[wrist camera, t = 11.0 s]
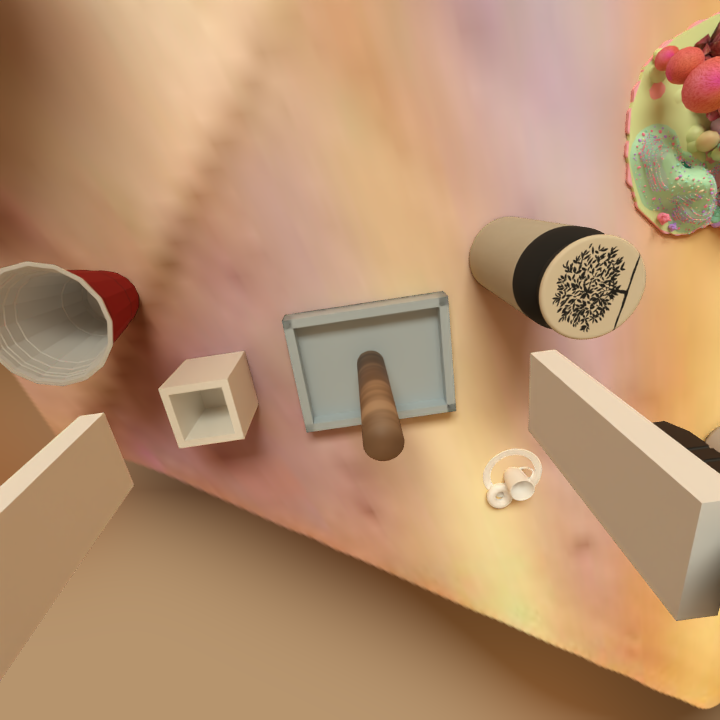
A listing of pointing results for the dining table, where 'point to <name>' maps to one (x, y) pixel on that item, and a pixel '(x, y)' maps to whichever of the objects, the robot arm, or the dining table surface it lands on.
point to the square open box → (210, 399)
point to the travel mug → (560, 274)
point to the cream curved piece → (512, 480)
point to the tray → (372, 333)
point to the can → (714, 439)
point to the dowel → (378, 409)
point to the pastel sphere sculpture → (677, 132)
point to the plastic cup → (61, 320)
